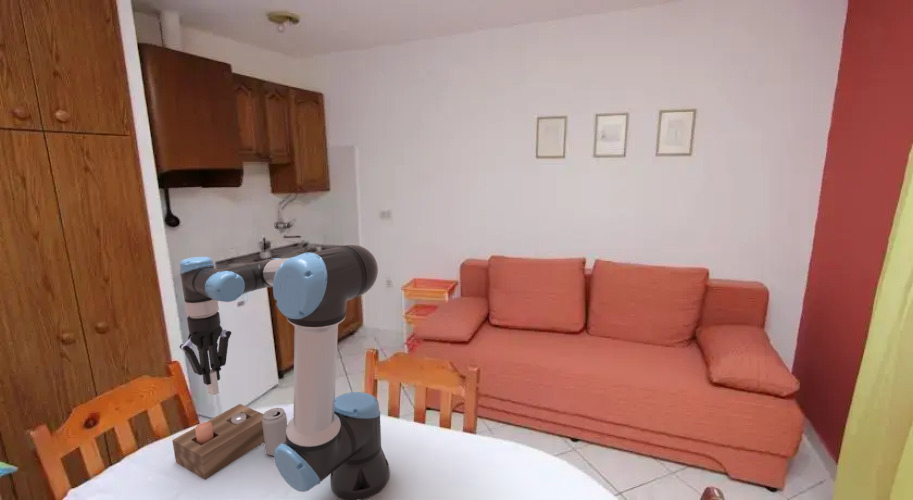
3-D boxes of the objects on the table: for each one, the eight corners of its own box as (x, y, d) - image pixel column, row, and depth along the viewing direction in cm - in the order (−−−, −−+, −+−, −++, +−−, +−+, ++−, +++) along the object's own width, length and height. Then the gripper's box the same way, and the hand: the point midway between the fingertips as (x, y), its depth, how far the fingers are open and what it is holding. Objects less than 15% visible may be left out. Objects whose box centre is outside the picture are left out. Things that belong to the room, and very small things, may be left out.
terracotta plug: (217, 443, 115) (215, 424, 114) (203, 451, 112) (200, 432, 111) (209, 439, 117) (206, 420, 116) (194, 447, 114) (192, 428, 113)
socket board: (270, 436, 125) (268, 416, 124) (204, 479, 108) (201, 456, 106) (242, 423, 132) (239, 403, 130) (175, 462, 114) (172, 439, 113)
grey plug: (251, 432, 124) (248, 415, 123) (238, 440, 121) (236, 422, 120) (242, 429, 126) (240, 411, 125) (230, 436, 123) (228, 418, 122)
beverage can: (280, 458, 115) (276, 420, 113) (260, 455, 117) (256, 418, 114) (293, 444, 121) (290, 407, 119) (274, 441, 123) (270, 405, 120)
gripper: (219, 304, 118) (228, 379, 123) (169, 318, 107) (181, 400, 112) (234, 309, 114) (243, 385, 119) (184, 324, 103) (196, 408, 108)
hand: (213, 392), depth 115 cm, fingers closed
